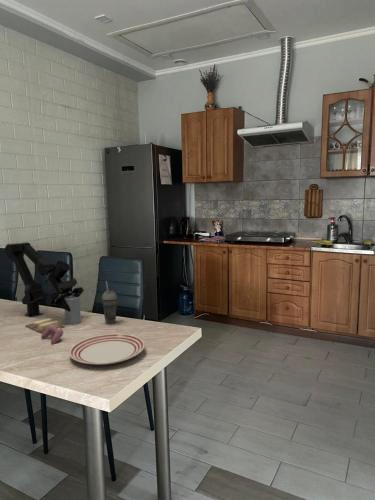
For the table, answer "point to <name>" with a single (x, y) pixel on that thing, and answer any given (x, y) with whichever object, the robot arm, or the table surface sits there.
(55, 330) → the video game controller
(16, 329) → the table surface
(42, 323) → the build board
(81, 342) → the dinner plate
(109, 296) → the beverage cup
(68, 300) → the slate pillar block
